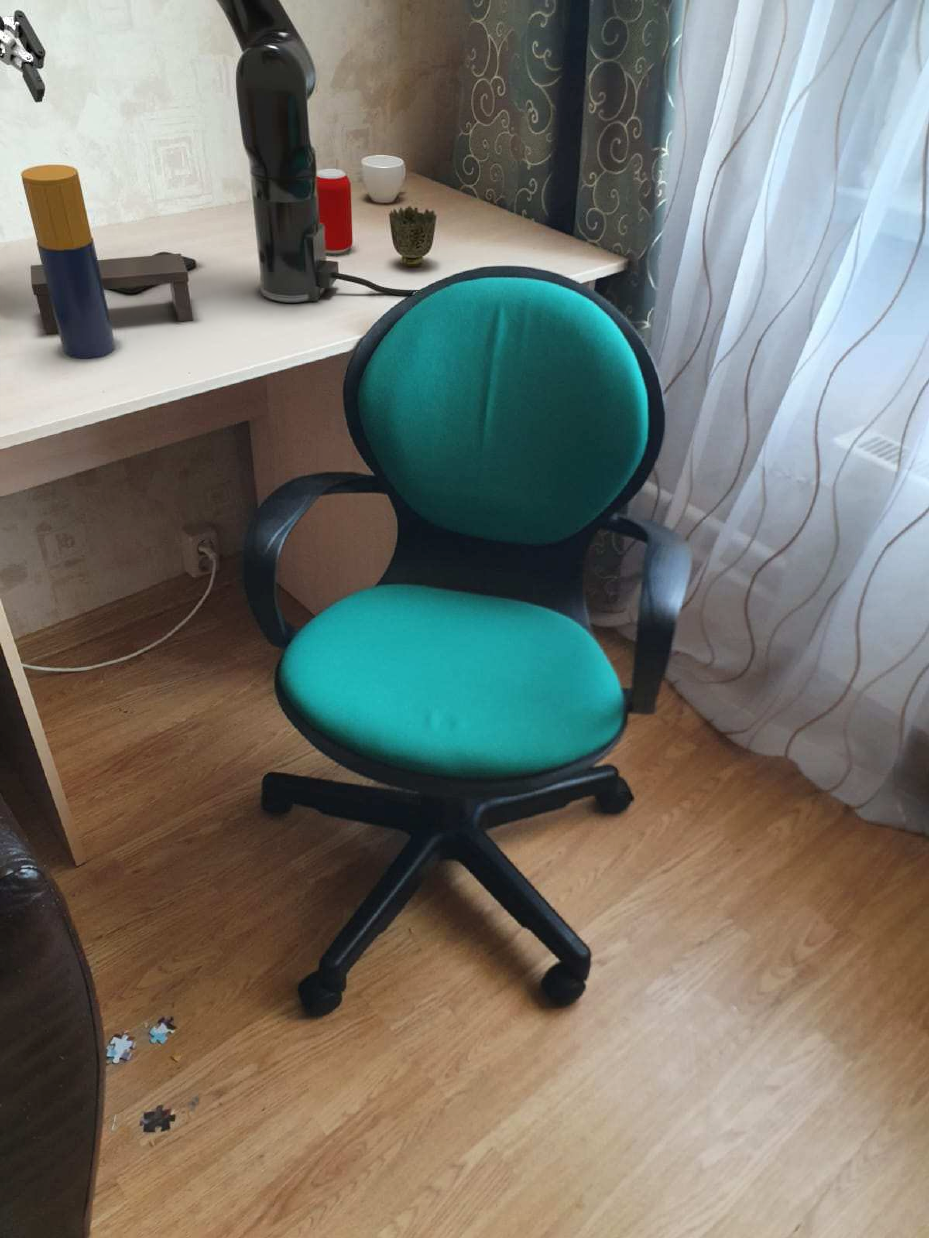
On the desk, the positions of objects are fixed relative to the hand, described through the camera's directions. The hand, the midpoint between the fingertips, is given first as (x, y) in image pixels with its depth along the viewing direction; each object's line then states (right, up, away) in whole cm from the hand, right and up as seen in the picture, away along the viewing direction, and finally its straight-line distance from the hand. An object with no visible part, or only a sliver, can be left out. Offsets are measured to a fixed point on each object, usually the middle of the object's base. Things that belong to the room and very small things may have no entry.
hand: (5, 102), depth 114 cm
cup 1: (+41, +17, +66) cm, 79 cm away
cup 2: (+47, -5, +40) cm, 62 cm away
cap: (+6, -15, +3) cm, 17 cm away
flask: (+5, -26, +12) cm, 29 cm away
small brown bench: (+6, -19, +20) cm, 29 cm away
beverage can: (+33, -1, +44) cm, 55 cm away
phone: (+7, -9, +32) cm, 34 cm away
